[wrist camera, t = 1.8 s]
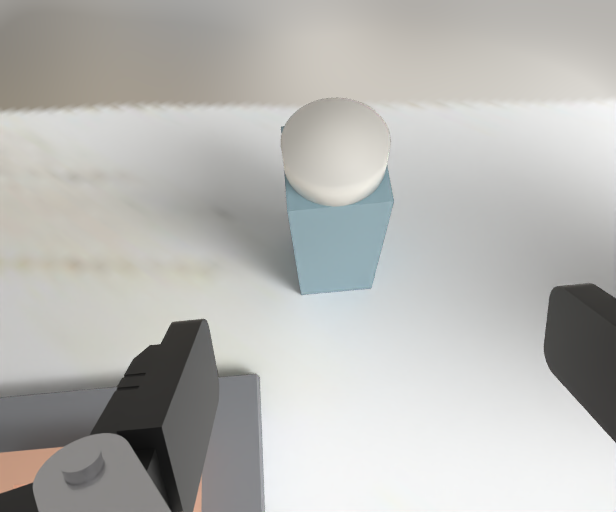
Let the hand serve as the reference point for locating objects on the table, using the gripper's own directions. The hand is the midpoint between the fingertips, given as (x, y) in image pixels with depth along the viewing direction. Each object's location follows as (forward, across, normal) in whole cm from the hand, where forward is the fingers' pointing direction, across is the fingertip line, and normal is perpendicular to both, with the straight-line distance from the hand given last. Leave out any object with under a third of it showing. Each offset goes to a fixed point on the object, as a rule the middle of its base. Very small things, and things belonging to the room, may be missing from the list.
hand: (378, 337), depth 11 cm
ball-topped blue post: (+18, 0, +5) cm, 18 cm away
